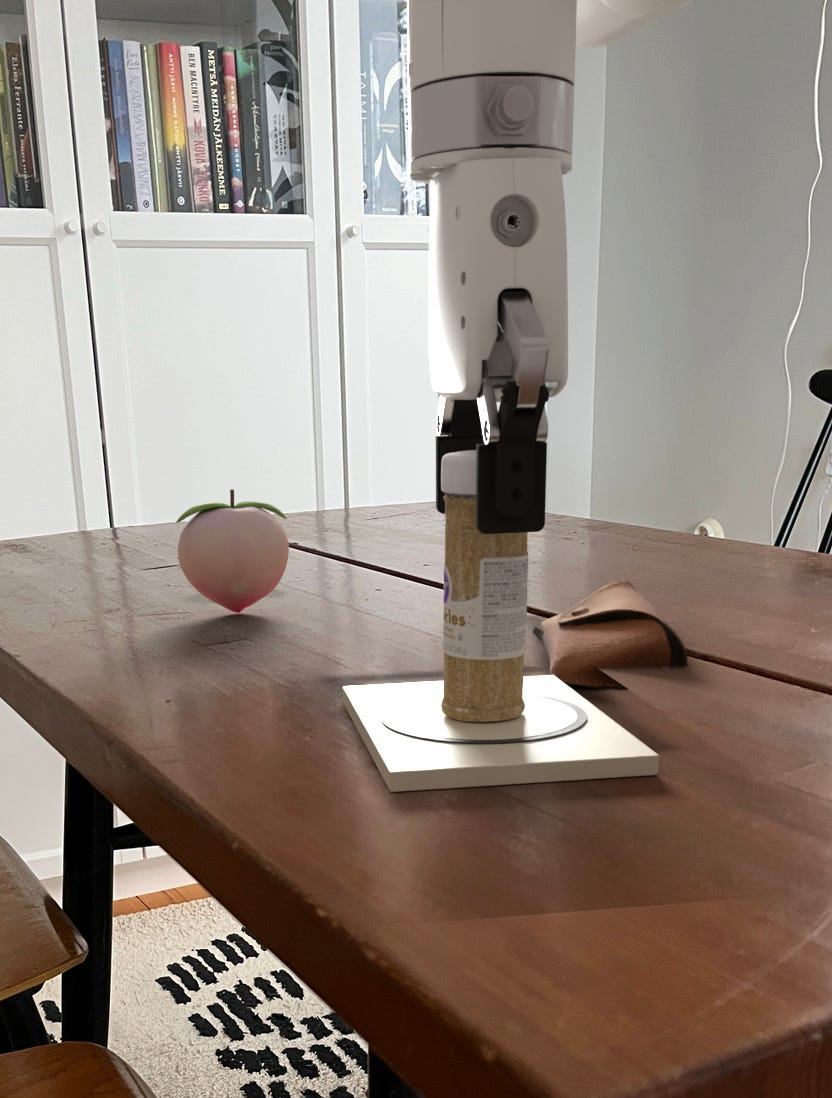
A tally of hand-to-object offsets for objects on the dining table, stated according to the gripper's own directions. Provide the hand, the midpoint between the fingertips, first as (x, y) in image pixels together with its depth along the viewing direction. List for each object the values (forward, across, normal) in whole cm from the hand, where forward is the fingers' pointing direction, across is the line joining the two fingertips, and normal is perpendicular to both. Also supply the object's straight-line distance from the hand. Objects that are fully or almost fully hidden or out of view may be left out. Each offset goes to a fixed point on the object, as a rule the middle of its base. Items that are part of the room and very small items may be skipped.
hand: (486, 521), depth 64 cm
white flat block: (+11, 0, 0) cm, 11 cm away
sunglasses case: (+11, +17, -12) cm, 24 cm away
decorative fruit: (+11, +42, +11) cm, 45 cm away
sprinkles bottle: (+10, 0, 0) cm, 10 cm away
